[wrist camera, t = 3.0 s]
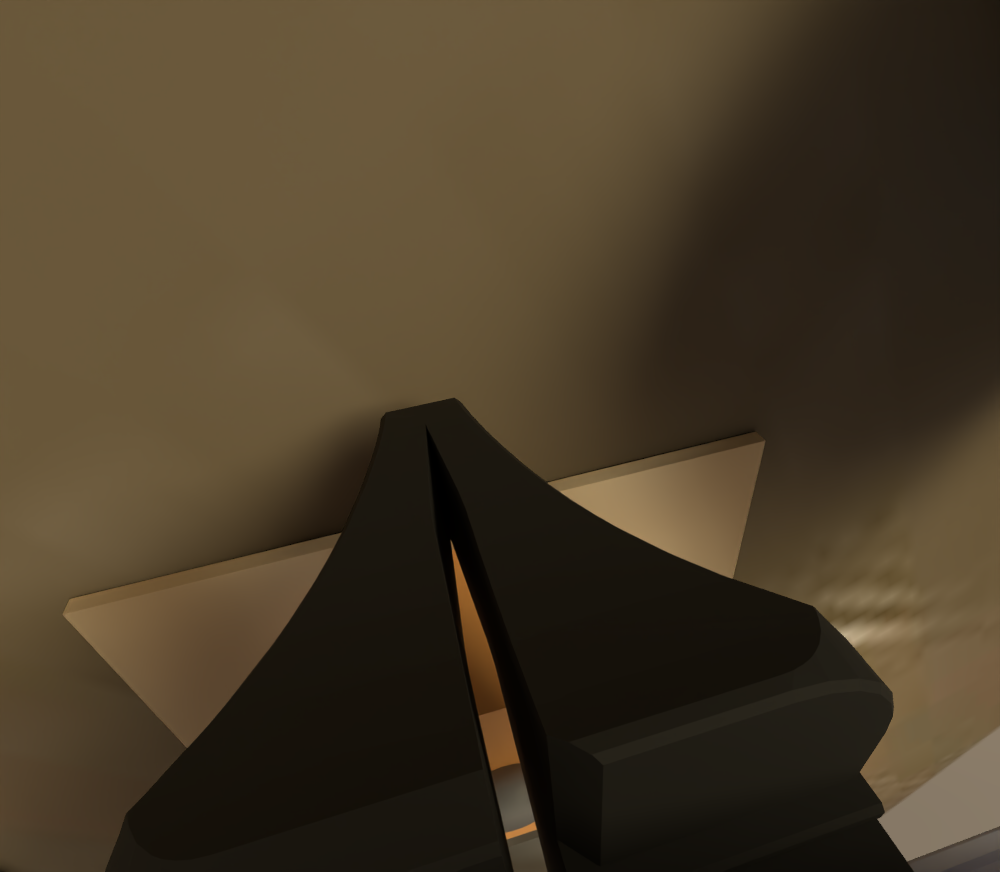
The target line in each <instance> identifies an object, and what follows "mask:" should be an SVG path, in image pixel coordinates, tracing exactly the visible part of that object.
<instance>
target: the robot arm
mask: <svg viewBox="0 0 1000 872" xmlns="http://www.w3.org/2000/svg"><path fill="white" fill-rule="evenodd" d="M451 541H452V544H453V547H454V550H455V553H456V555H457V558H458V561H459V564H460V567H461V569H462V572H463V575H464V578H465V581H466V583H467V586H468V589H469V592H470V594H471V597H472V600H473V603H474V606H475V608H476V611H477V614H478V617H479V619H480V622H481V625H482V628H483V631H484V633H485V636H486V639H487V642H488V645H489V648H490V651H491V654H492V658H493V661H494V664H495V668H496V671H497V675H498V679H499V683H500V687H501V691H502V695H503V699H504V702H505V706H506V710H507V714H508V718H509V722H510V726H511V730H512V734H513V738H514V741H515V745H516V749H517V753H518V757H519V761H520V765H521V769H522V773H523V777H524V781H525V785H526V789H527V793H528V797H529V801H530V804H531V808H532V812H533V816H534V820H535V824H536V828H537V832H538V836H539V840H540V844H541V848H542V852H543V856H544V860H545V864H546V868H547V872H1000V826H999V827H997V828H994V829H992V830H989V831H986V832H984V833H981V834H978V835H976V836H973V837H971V838H968V839H966V840H963V841H960V842H957V843H955V844H952V845H950V846H947V847H944V848H942V849H939V850H937V851H934V852H931V853H929V854H926V855H923V856H921V857H918V858H915V859H913V860H910V861H908V862H907V861H906V860H905V858H904V857H903V855H902V854H901V853H900V851H899V850H898V848H897V847H896V845H895V844H894V842H893V841H892V840H891V838H890V837H889V835H888V834H887V833H886V831H885V830H884V829H883V827H882V826H881V824H880V823H879V821H878V820H877V818H880V817H881V816H882V815H883V814H884V813H885V811H884V808H883V805H882V802H881V801H880V800H879V798H878V797H877V795H876V794H875V793H874V791H873V790H872V789H871V787H870V786H869V784H868V783H867V782H866V780H865V779H864V778H863V776H862V775H861V773H860V771H861V769H862V768H863V766H864V764H865V763H866V761H867V760H868V758H869V757H870V755H871V754H872V752H873V751H874V749H875V748H876V746H877V745H878V743H879V742H880V740H881V739H882V737H883V736H884V734H885V733H886V730H887V728H888V726H889V724H890V722H891V719H892V717H893V708H894V705H893V694H892V692H891V690H890V689H889V688H888V687H887V686H886V685H885V683H884V682H883V681H882V680H881V679H880V678H879V677H878V675H877V674H876V673H875V672H874V671H873V670H872V668H871V667H870V666H869V665H868V664H867V663H866V661H865V660H864V659H863V658H862V656H861V655H860V654H859V653H858V652H857V651H856V650H855V648H854V647H853V646H852V645H851V644H850V643H849V642H848V640H847V639H846V638H845V637H844V636H843V635H842V634H841V633H840V632H839V631H838V630H837V629H835V628H834V627H833V626H832V625H831V624H830V623H829V622H828V621H827V620H826V619H825V618H824V617H823V616H822V615H821V614H820V613H819V612H818V611H817V609H816V608H815V607H813V606H811V605H808V604H805V603H802V602H799V601H796V600H793V599H790V598H787V597H784V596H781V595H778V594H775V593H773V592H770V591H767V590H764V589H761V588H758V587H755V586H752V585H749V584H746V583H743V582H740V581H737V580H734V579H731V578H729V577H726V576H723V575H721V574H718V573H716V572H713V571H711V570H709V569H706V568H704V567H701V566H699V565H696V564H694V563H692V562H689V561H687V560H684V559H682V558H680V557H677V556H675V555H673V554H671V553H668V552H666V551H664V550H662V549H660V548H658V547H656V546H654V545H652V544H650V543H648V542H646V541H644V540H642V539H640V538H638V537H636V536H634V535H632V534H630V533H628V532H626V531H624V530H622V529H620V528H618V527H616V526H614V525H612V524H611V523H609V522H607V521H605V520H604V519H602V518H600V517H598V516H597V515H595V514H593V513H592V512H590V511H588V510H587V509H585V508H584V507H582V506H581V505H579V504H577V503H576V502H574V501H573V500H571V499H570V498H568V497H567V496H565V495H564V494H562V493H561V492H559V491H558V490H557V489H555V488H554V487H552V486H551V485H550V484H548V483H547V482H546V481H544V480H543V479H542V478H540V477H539V476H538V475H537V474H535V473H534V472H533V471H531V470H530V469H529V468H528V467H526V466H525V465H524V464H523V463H522V462H520V461H519V460H518V459H517V458H516V457H515V456H513V455H512V454H511V453H510V452H509V451H508V450H507V449H506V448H504V447H503V446H502V445H501V444H500V443H499V442H498V441H497V440H496V439H495V438H493V437H492V436H491V435H490V434H489V433H488V432H487V431H486V430H485V429H484V428H483V427H482V426H481V425H480V424H479V423H478V421H477V420H476V419H475V418H474V417H473V416H472V415H471V414H470V413H469V411H468V410H467V409H466V408H465V407H464V405H463V404H462V403H461V402H460V401H459V400H457V399H455V398H451V399H446V400H442V401H437V402H433V403H428V404H423V405H419V406H414V407H410V408H405V409H401V410H396V411H391V412H387V413H385V415H384V416H383V417H382V419H381V422H380V429H379V434H378V438H377V442H376V446H375V449H374V453H373V456H372V459H371V462H370V465H369V468H368V471H367V473H366V476H365V479H364V482H363V484H362V487H361V490H360V492H359V495H358V497H357V500H356V502H355V504H354V506H353V508H352V511H351V513H350V515H349V517H348V519H347V522H346V524H345V526H344V528H343V530H342V533H341V535H340V537H339V538H338V540H337V542H336V544H335V546H334V548H333V550H332V552H331V554H330V556H329V557H328V559H327V561H326V563H325V564H324V566H323V568H322V570H321V571H320V573H319V575H318V577H317V578H316V580H315V582H314V583H313V585H312V587H311V588H310V590H309V591H308V593H307V594H306V596H305V597H304V599H303V600H302V602H301V603H300V605H299V606H298V608H297V610H296V611H295V613H294V614H293V616H292V617H291V619H290V620H289V622H288V623H287V625H286V626H285V627H284V629H283V630H282V632H281V633H280V635H279V636H278V637H277V639H276V640H275V642H274V643H273V644H272V646H271V647H270V648H269V650H268V651H267V652H266V653H265V655H264V656H263V657H262V659H261V660H260V661H259V662H258V664H257V665H256V666H255V668H254V669H253V670H252V671H251V673H250V674H249V675H248V676H247V678H246V679H245V680H244V682H243V683H242V684H241V685H240V687H239V688H238V689H237V691H236V692H235V693H234V694H233V696H232V697H231V698H230V699H229V701H228V702H227V703H226V705H225V706H224V707H223V708H222V709H221V711H220V712H219V713H218V714H217V715H216V716H215V718H214V719H213V720H212V721H211V722H210V724H209V725H208V726H207V727H206V728H205V729H204V730H203V731H202V733H201V734H200V735H199V736H198V737H197V738H196V739H195V740H194V741H193V742H192V743H191V745H190V746H189V747H188V748H187V749H186V750H185V751H184V752H183V753H182V754H181V756H180V757H179V758H178V759H177V760H176V761H175V762H174V763H173V764H172V765H171V766H170V768H169V769H168V770H167V771H166V772H165V773H164V774H163V775H162V776H161V777H160V778H159V780H158V781H157V782H156V783H155V784H154V785H153V786H152V787H151V788H150V789H149V791H148V792H147V793H146V794H145V795H144V796H143V797H142V798H141V799H140V800H139V801H138V802H137V803H136V804H135V805H134V806H133V807H132V808H131V809H130V810H129V811H128V812H127V814H126V816H125V819H124V822H123V825H122V828H121V831H120V834H119V837H118V839H117V842H116V845H115V847H114V850H113V852H112V855H111V857H110V860H109V862H108V865H107V867H106V870H105V872H514V870H513V865H512V861H511V856H510V852H509V847H508V843H507V839H506V834H505V830H504V825H503V821H502V817H501V812H500V808H499V803H498V799H497V794H496V790H495V786H494V781H493V777H492V772H491V768H490V763H489V759H488V754H487V750H486V746H485V741H484V737H483V732H482V728H481V723H480V719H479V714H478V710H477V706H476V701H475V697H474V692H473V688H472V683H471V679H470V674H469V669H468V663H467V657H466V652H465V645H464V637H463V630H462V622H461V614H460V607H459V599H458V592H457V584H456V576H455V569H454V561H453V554H452V546H451Z"/></svg>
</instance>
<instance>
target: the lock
mask: <svg viewBox="0 0 1000 872" xmlns="http://www.w3.org/2000/svg"><path fill="white" fill-rule="evenodd" d="M452 554H453V561H454V569H455V576H456V584H457V592H458V599H459V607H460V614H461V622H462V630H463V637H464V645H465V652H466V657H467V663H468V669H469V674H470V679H471V683H472V688H473V692H474V697H475V701H476V706H477V710H478V714H479V719H480V723H481V728H482V732H483V737H484V741H485V746H486V750H487V754H488V759H489V763H490V768H491V772H492V777H493V781H494V786H495V790H496V794H497V799H498V803H499V808H500V812H501V817H502V821H503V825H504V830H505V834H506V839H510V838H513V837H516V836H519V835H522V834H525V833H528V832H531V831H534V830H537V828H536V824H535V820H534V816H533V812H532V808H531V804H530V801H529V797H528V793H527V789H526V785H525V781H524V777H523V773H522V769H521V765H520V761H519V757H518V753H517V749H516V745H515V741H514V738H513V734H512V730H511V726H510V722H509V718H508V714H507V710H506V706H505V702H504V699H503V695H502V691H501V687H500V683H499V679H498V675H497V671H496V668H495V664H494V661H493V658H492V654H491V651H490V648H489V645H488V642H487V639H486V636H485V633H484V631H483V628H482V625H481V622H480V619H479V617H478V614H477V611H476V608H475V606H474V603H473V600H472V597H471V594H470V592H469V589H468V586H467V583H466V581H465V578H464V575H463V572H462V569H461V567H460V564H459V561H458V558H457V555H456V553H455V550H452Z"/></svg>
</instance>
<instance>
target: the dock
mask: <svg viewBox="0 0 1000 872" xmlns="http://www.w3.org/2000/svg"><path fill="white" fill-rule="evenodd" d="M764 445H765V440H764V439H763V438H762V437H761V436H760V435H759V434H758V433H757V432H752V433H748V434H744V435H740V436H736V437H731V438H727V439H723V440H719V441H715V442H711V443H707V444H703V445H699V446H695V447H691V448H686V449H682V450H678V451H674V452H670V453H666V454H662V455H658V456H654V457H650V458H645V459H641V460H637V461H633V462H629V463H625V464H621V465H617V466H613V467H609V468H604V469H600V470H596V471H592V472H588V473H584V474H580V475H576V476H572V477H568V478H563V479H559V480H555V481H551V482H547V483H548V484H550V485H551V486H552V487H554V488H555V489H557V490H558V491H559V492H561V493H562V494H564V495H565V496H567V497H568V498H570V499H571V500H573V501H574V502H576V503H577V504H579V505H581V506H582V507H584V508H585V509H587V510H588V511H590V512H592V513H593V514H595V515H597V516H598V517H600V518H602V519H604V520H605V521H607V522H609V523H611V524H612V525H614V526H616V527H618V528H620V529H622V530H624V531H626V532H628V533H630V534H632V535H634V536H636V537H638V538H640V539H642V540H644V541H646V542H648V543H650V544H652V545H654V546H656V547H658V548H660V549H662V550H664V551H666V552H668V553H671V554H673V555H675V556H677V557H680V558H682V559H684V560H687V561H689V562H692V563H694V564H696V565H699V566H701V567H704V568H706V569H709V570H711V571H713V572H716V573H718V574H721V575H723V576H726V577H729V578H731V579H733V576H734V571H735V567H736V563H737V559H738V555H739V550H740V546H741V542H742V538H743V534H744V529H745V525H746V521H747V517H748V513H749V508H750V504H751V500H752V496H753V492H754V487H755V483H756V479H757V475H758V471H759V466H760V462H761V458H762V454H763V450H764ZM340 535H341V533H338V534H334V535H330V536H326V537H322V538H318V539H314V540H309V541H305V542H301V543H297V544H293V545H289V546H285V547H281V548H277V549H273V550H268V551H264V552H260V553H256V554H252V555H248V556H244V557H240V558H236V559H232V560H227V561H223V562H219V563H215V564H211V565H207V566H203V567H199V568H195V569H191V570H186V571H182V572H178V573H174V574H170V575H166V576H162V577H158V578H154V579H150V580H145V581H141V582H137V583H133V584H129V585H125V586H121V587H117V588H113V589H109V590H105V591H100V592H96V593H92V594H88V595H84V596H80V597H76V598H72V599H69V602H68V604H67V606H66V608H65V610H64V612H63V614H62V615H63V616H64V617H65V618H66V619H67V620H68V621H69V622H70V623H71V624H72V625H73V626H74V627H75V629H76V630H77V631H78V632H79V633H80V634H81V635H82V636H83V637H84V638H85V639H86V640H87V641H88V642H89V644H90V645H91V646H92V647H93V648H94V649H95V650H96V651H97V652H98V653H99V654H100V655H101V656H102V657H103V659H104V660H105V661H106V662H107V663H108V664H109V665H110V666H111V667H112V668H113V669H114V670H115V671H116V673H117V674H118V675H119V676H120V677H121V678H122V679H123V680H124V681H125V682H126V683H127V684H128V685H129V686H130V688H131V689H132V690H133V691H134V692H135V693H136V694H137V695H138V696H139V697H140V698H141V699H142V700H143V702H144V703H145V704H146V705H147V706H148V707H149V708H150V709H151V710H152V711H153V712H154V713H155V714H156V715H157V717H158V718H159V719H160V720H161V721H162V722H163V723H164V724H165V725H166V726H167V727H168V728H169V729H170V731H171V732H172V733H173V734H174V735H175V736H176V737H177V738H178V739H179V740H180V741H181V742H182V743H183V744H184V746H185V747H186V748H188V747H189V746H190V745H191V743H192V742H193V741H194V740H195V739H196V738H197V737H198V736H199V735H200V734H201V733H202V731H203V730H204V729H205V728H206V727H207V726H208V725H209V724H210V722H211V721H212V720H213V719H214V718H215V716H216V715H217V714H218V713H219V712H220V711H221V709H222V708H223V707H224V706H225V705H226V703H227V702H228V701H229V699H230V698H231V697H232V696H233V694H234V693H235V692H236V691H237V689H238V688H239V687H240V685H241V684H242V683H243V682H244V680H245V679H246V678H247V676H248V675H249V674H250V673H251V671H252V670H253V669H254V668H255V666H256V665H257V664H258V662H259V661H260V660H261V659H262V657H263V656H264V655H265V653H266V652H267V651H268V650H269V648H270V647H271V646H272V644H273V643H274V642H275V640H276V639H277V637H278V636H279V635H280V633H281V632H282V630H283V629H284V627H285V626H286V625H287V623H288V622H289V620H290V619H291V617H292V616H293V614H294V613H295V611H296V610H297V608H298V606H299V605H300V603H301V602H302V600H303V599H304V597H305V596H306V594H307V593H308V591H309V590H310V588H311V587H312V585H313V583H314V582H315V580H316V578H317V577H318V575H319V573H320V571H321V570H322V568H323V566H324V564H325V563H326V561H327V559H328V557H329V556H330V554H331V552H332V550H333V548H334V546H335V544H336V542H337V540H338V538H339V537H340ZM451 546H452V550H454V547H453V544H452V541H451ZM507 843H508V847H509V852H510V856H511V861H512V865H513V870H514V872H547V868H546V864H545V860H544V856H543V852H542V848H541V844H540V840H539V836H538V832H537V830H534V831H531V832H528V833H525V834H522V835H519V836H516V837H513V838H510V839H507Z"/></svg>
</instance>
